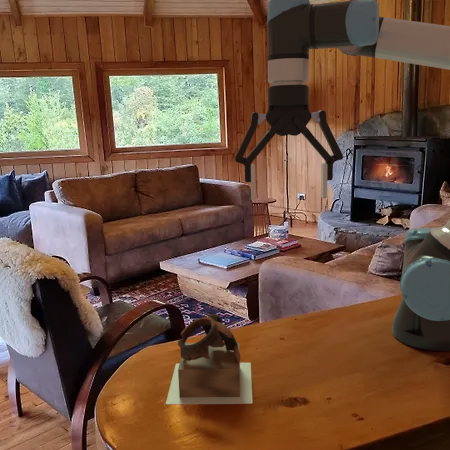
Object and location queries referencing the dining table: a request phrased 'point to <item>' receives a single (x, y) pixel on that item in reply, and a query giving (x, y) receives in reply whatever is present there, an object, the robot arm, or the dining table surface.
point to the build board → (243, 399)
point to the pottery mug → (208, 338)
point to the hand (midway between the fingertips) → (288, 198)
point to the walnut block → (210, 375)
